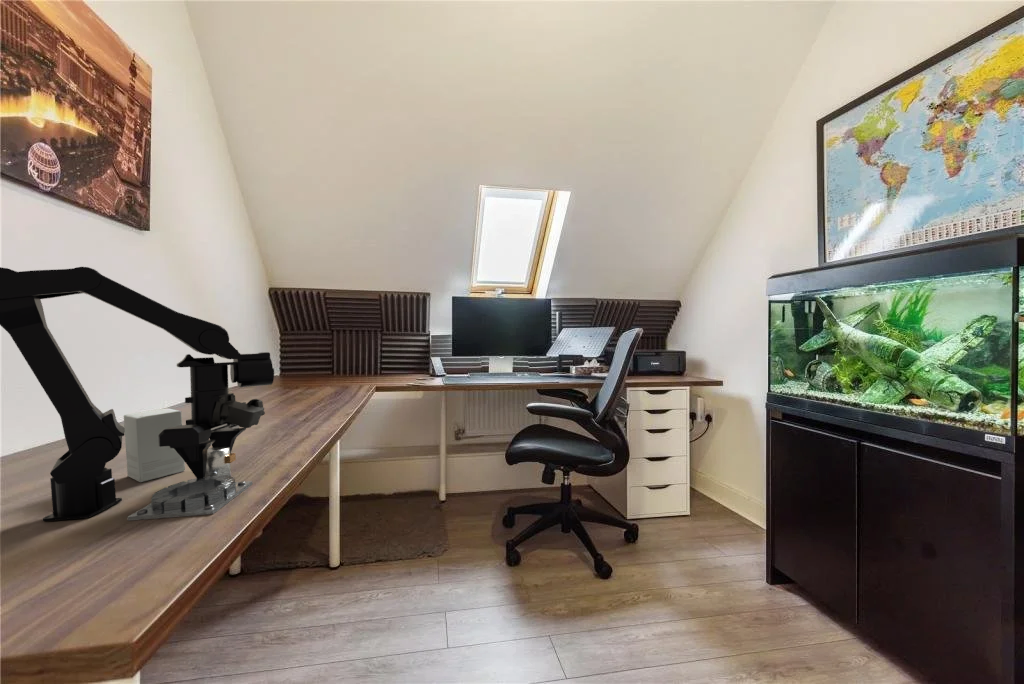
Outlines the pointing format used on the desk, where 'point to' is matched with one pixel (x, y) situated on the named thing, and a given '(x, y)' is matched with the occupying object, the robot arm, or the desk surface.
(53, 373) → the robot arm
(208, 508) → the duct flange
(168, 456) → the supplement box
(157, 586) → the desk surface
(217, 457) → the silver metal cylinder
